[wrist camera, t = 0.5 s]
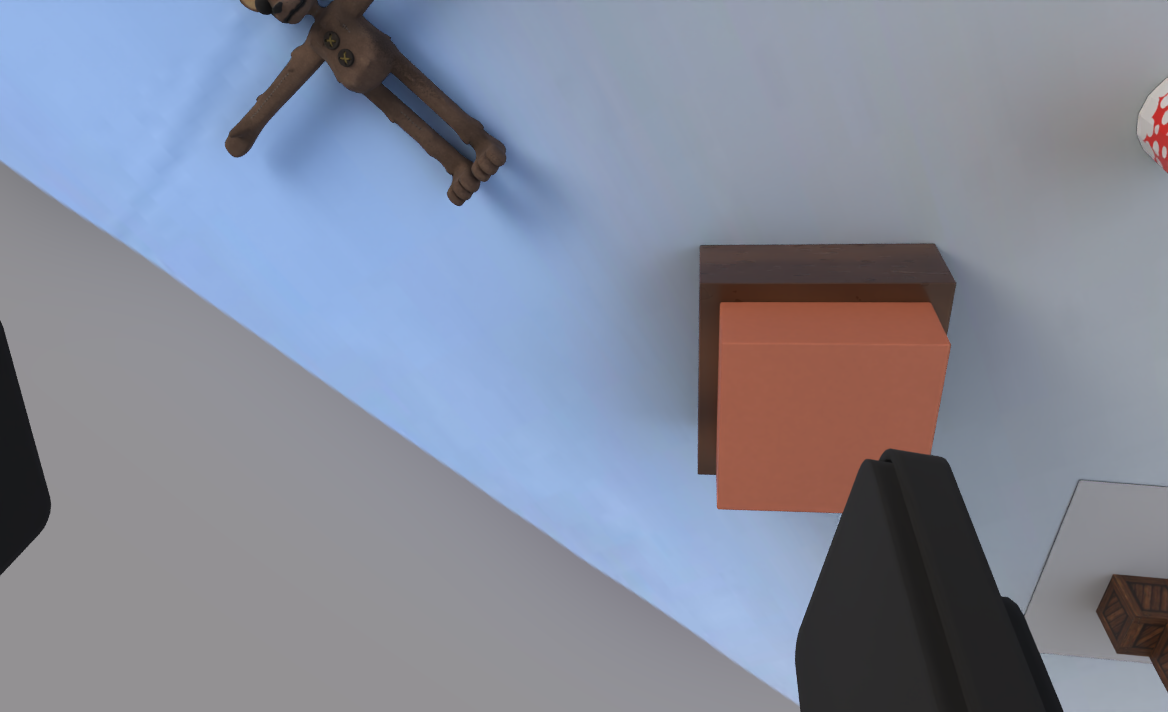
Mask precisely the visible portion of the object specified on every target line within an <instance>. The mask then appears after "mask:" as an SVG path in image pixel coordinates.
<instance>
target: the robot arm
mask: <svg viewBox="0 0 1168 712" xmlns="http://www.w3.org/2000/svg"><path fill="white" fill-rule="evenodd" d="M50 509H51V501H50V496H49V492H48V488H47V485H46V481H45V478H44V474H43V470H42V467H41V463H40V459H39V456H38V452H37V449H36V445H35V441H34V438H33V434H32V431H31V427H30V423H29V419H28V416H27V413H26V409H25V405H24V401H23V398H22V394H21V390H20V387H19V383H18V379H17V376H16V372H15V369H14V365H13V361H12V357H11V354H10V350H9V347H8V343H7V339H6V336H5V332H4V328H3V326H2V323H1V321H0V575H1V574H2V573H3V572H4V571H5V570H6V569H7V568H8V567H9V566H10V565H11V563H12V562H13V561H14V560H15V559H16V558H17V557H18V556H19V555H20V554H21V553H22V552H23V551H24V550H25V549H26V547H28V545H29V544H30V543H31V542H32V541H33V540H34V539H35V538H36V537H37V536H38V535H39V534H40V532H41V531H42V530H43V528H44V527H45V525H46V523H47V521H48V518H49V515H50ZM795 665H796V675H797V684H798V693H799V702H800V711H801V712H1063V709H1062V707H1061V704H1060V702H1059V699H1058V697H1057V694H1056V692H1055V690H1054V687H1053V685H1052V682H1051V680H1050V677H1049V675H1048V673H1047V670H1046V668H1045V665H1044V663H1043V660H1042V658H1041V656H1040V653H1039V651H1038V648H1037V646H1036V643H1035V641H1034V638H1033V636H1032V634H1031V631H1030V629H1029V626H1028V624H1027V621H1026V619H1025V617H1024V615H1023V614H1022V612H1021V610H1020V608H1019V607H1018V605H1017V604H1016V603H1015V602H1013V601H1012V600H1011V599H1010V598H1008V597H1002V596H1001V595H1000V593H999V590H998V588H997V585H996V582H995V580H994V577H993V575H992V572H991V570H990V567H989V565H988V562H987V559H986V557H985V554H984V552H983V549H982V547H981V544H980V542H979V539H978V536H977V534H976V531H975V529H974V526H973V524H972V521H971V518H970V516H969V513H968V511H967V508H966V506H965V503H964V501H963V498H962V495H961V493H960V490H959V488H958V485H957V483H956V480H955V478H954V475H953V472H952V470H951V467H950V465H949V463H948V462H947V460H946V459H944V458H943V457H939V456H933V455H927V454H921V453H915V452H909V451H903V450H897V449H891V448H890V449H887V450H885V451H884V452H883V454H882V455H881V457H880V459H879V461H878V460H872V459H865V460H864V461H863V462H862V464H861V466H860V468H859V470H858V473H857V476H856V478H855V481H854V484H853V486H852V489H851V492H850V494H849V497H848V500H847V503H846V505H845V508H844V511H843V513H842V516H841V519H840V521H839V524H838V527H837V530H836V532H835V535H834V538H833V540H832V543H831V546H830V548H829V551H828V554H827V556H826V559H825V562H824V565H823V567H822V570H821V573H820V575H819V578H818V581H817V583H816V586H815V589H814V592H813V594H812V597H811V600H810V602H809V605H808V608H807V610H806V613H805V616H804V618H803V621H802V624H801V627H800V629H799V633H798V637H797V642H796V651H795Z"/></svg>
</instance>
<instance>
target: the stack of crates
mask: <svg viewBox="0 0 1168 712" xmlns="http://www.w3.org/2000/svg"><path fill="white" fill-rule="evenodd" d="M1025 619H1026V621H1027V624H1028V626H1029V629H1030V631H1031V634H1032V636H1033V638H1034V641H1035V643H1036V646H1037V648H1038V651H1039V653H1047V654H1057V655H1067V656H1078V657H1088V658H1098V659H1108V660H1119V661H1129V662H1139V663H1149V664H1153V666H1154V667H1155V669H1156V671H1157V673H1158V675H1159V677H1160V679H1161V681H1162V683H1163V684H1164V686H1165V688H1166V690H1167V692H1168V487H1158V486H1146V485H1133V484H1121V483H1108V482H1095V481H1083V480H1080V481H1079V484H1078V486H1077V488H1076V491H1075V493H1074V496H1073V498H1072V501H1071V503H1070V506H1069V508H1068V511H1067V513H1066V516H1065V518H1064V521H1063V523H1062V526H1061V528H1060V530H1059V533H1058V535H1057V538H1056V540H1055V543H1054V545H1053V548H1052V550H1051V553H1050V555H1049V558H1048V560H1047V563H1046V565H1045V567H1044V570H1043V572H1042V575H1041V577H1040V580H1039V582H1038V585H1037V587H1036V590H1035V592H1034V595H1033V597H1032V600H1031V602H1030V604H1029V607H1028V609H1027V612H1026V614H1025Z"/></svg>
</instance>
